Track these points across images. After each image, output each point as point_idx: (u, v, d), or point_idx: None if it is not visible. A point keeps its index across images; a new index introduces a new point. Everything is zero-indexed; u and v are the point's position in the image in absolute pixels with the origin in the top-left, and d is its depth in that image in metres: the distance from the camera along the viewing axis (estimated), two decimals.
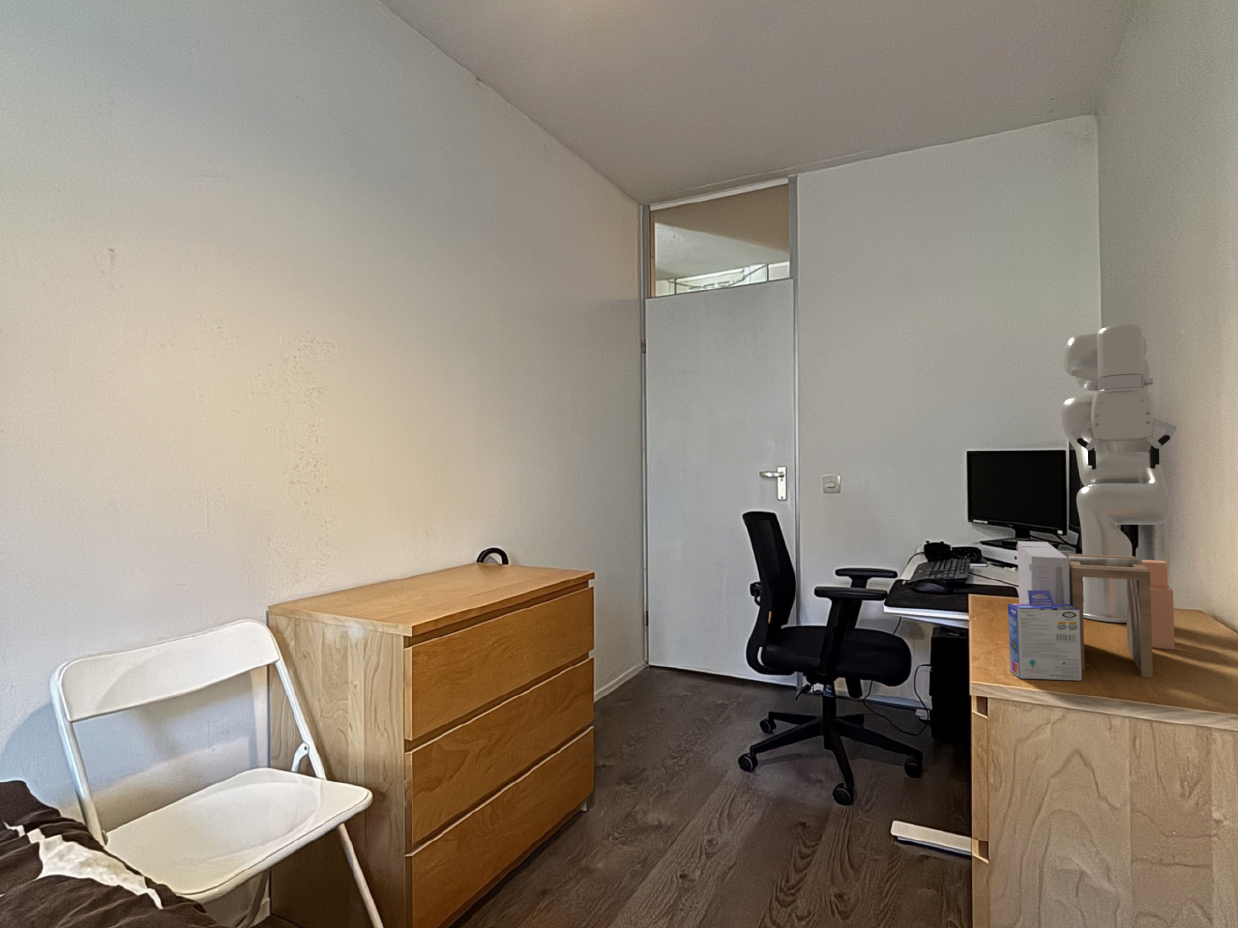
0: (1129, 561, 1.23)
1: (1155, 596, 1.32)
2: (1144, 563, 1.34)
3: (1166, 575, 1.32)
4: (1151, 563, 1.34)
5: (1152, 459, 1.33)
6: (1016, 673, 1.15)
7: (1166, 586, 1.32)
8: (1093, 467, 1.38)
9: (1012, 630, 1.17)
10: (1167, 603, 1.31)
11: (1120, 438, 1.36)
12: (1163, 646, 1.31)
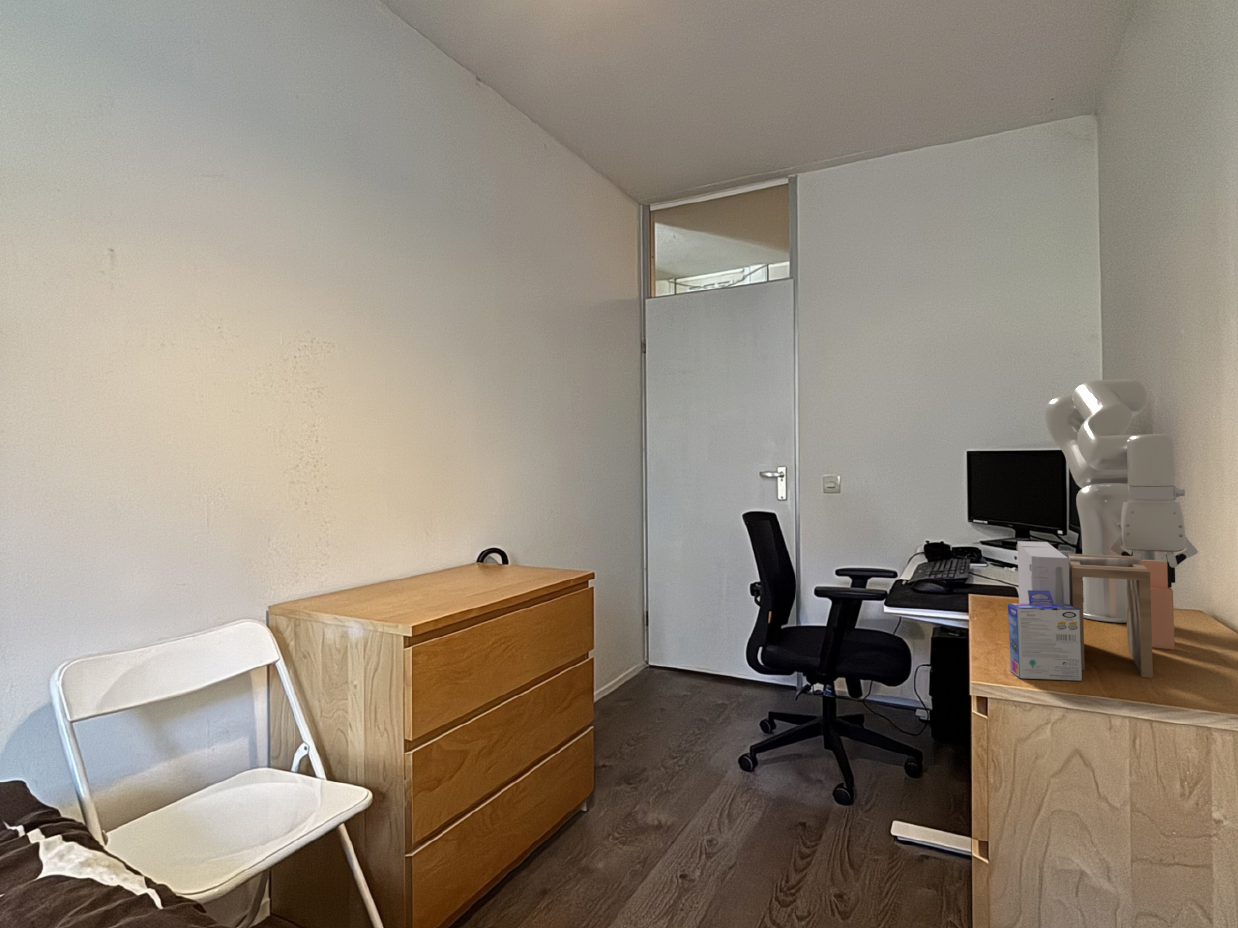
0: (1129, 561, 1.23)
1: (1155, 596, 1.32)
2: (1144, 563, 1.34)
3: (1166, 575, 1.32)
4: (1151, 563, 1.34)
5: (1168, 578, 1.33)
6: (1016, 673, 1.15)
7: (1166, 586, 1.32)
8: None
9: (1012, 630, 1.17)
10: (1167, 603, 1.31)
11: (1151, 549, 1.34)
12: (1163, 646, 1.31)
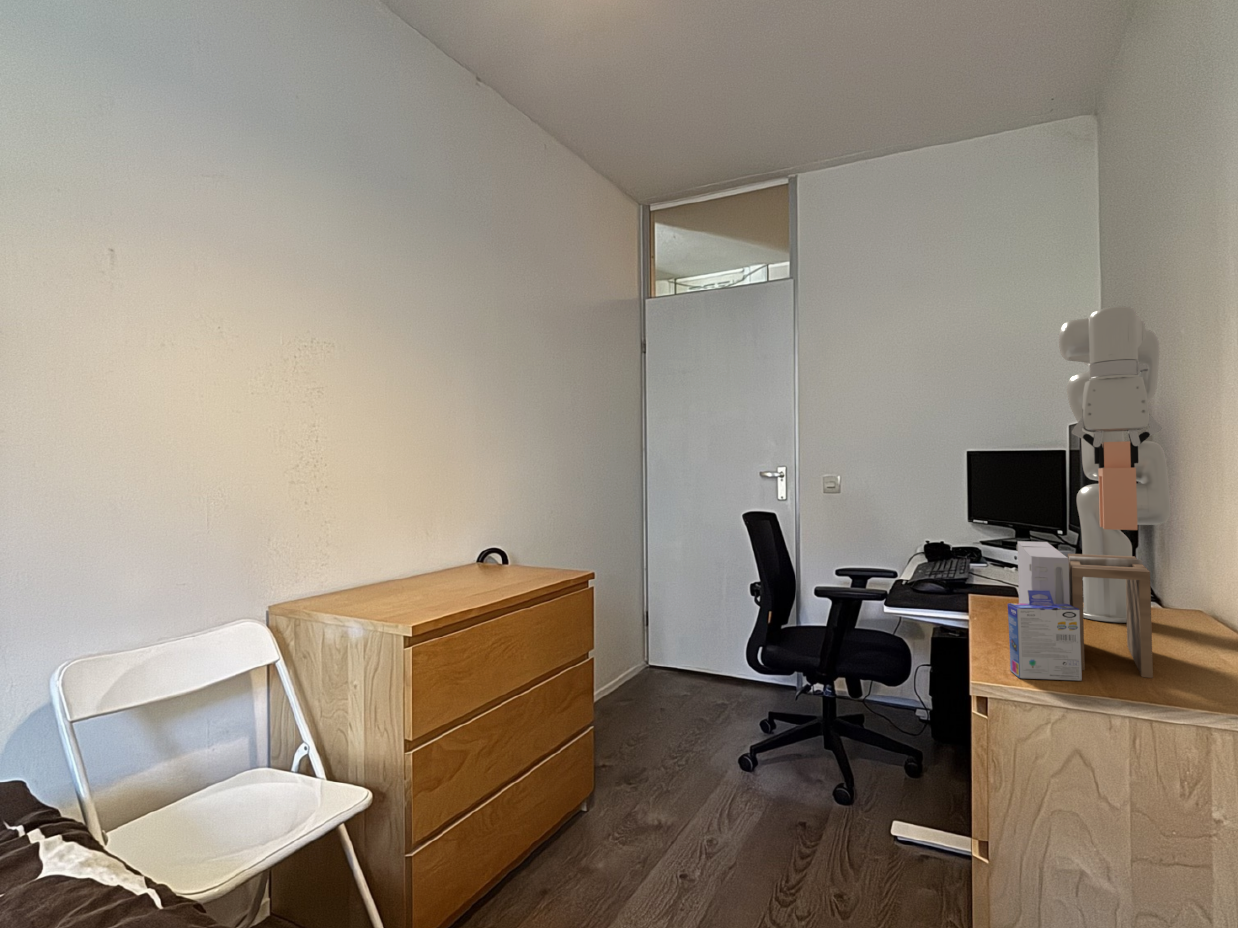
0: (1129, 561, 1.23)
1: (1117, 475, 1.24)
2: (1106, 443, 1.27)
3: (1129, 454, 1.25)
4: (1113, 442, 1.27)
5: (1131, 457, 1.26)
6: (1016, 673, 1.15)
7: (1129, 466, 1.25)
8: (1101, 465, 1.28)
9: (1012, 630, 1.17)
10: (1130, 482, 1.24)
11: (1114, 428, 1.27)
12: (1126, 527, 1.24)
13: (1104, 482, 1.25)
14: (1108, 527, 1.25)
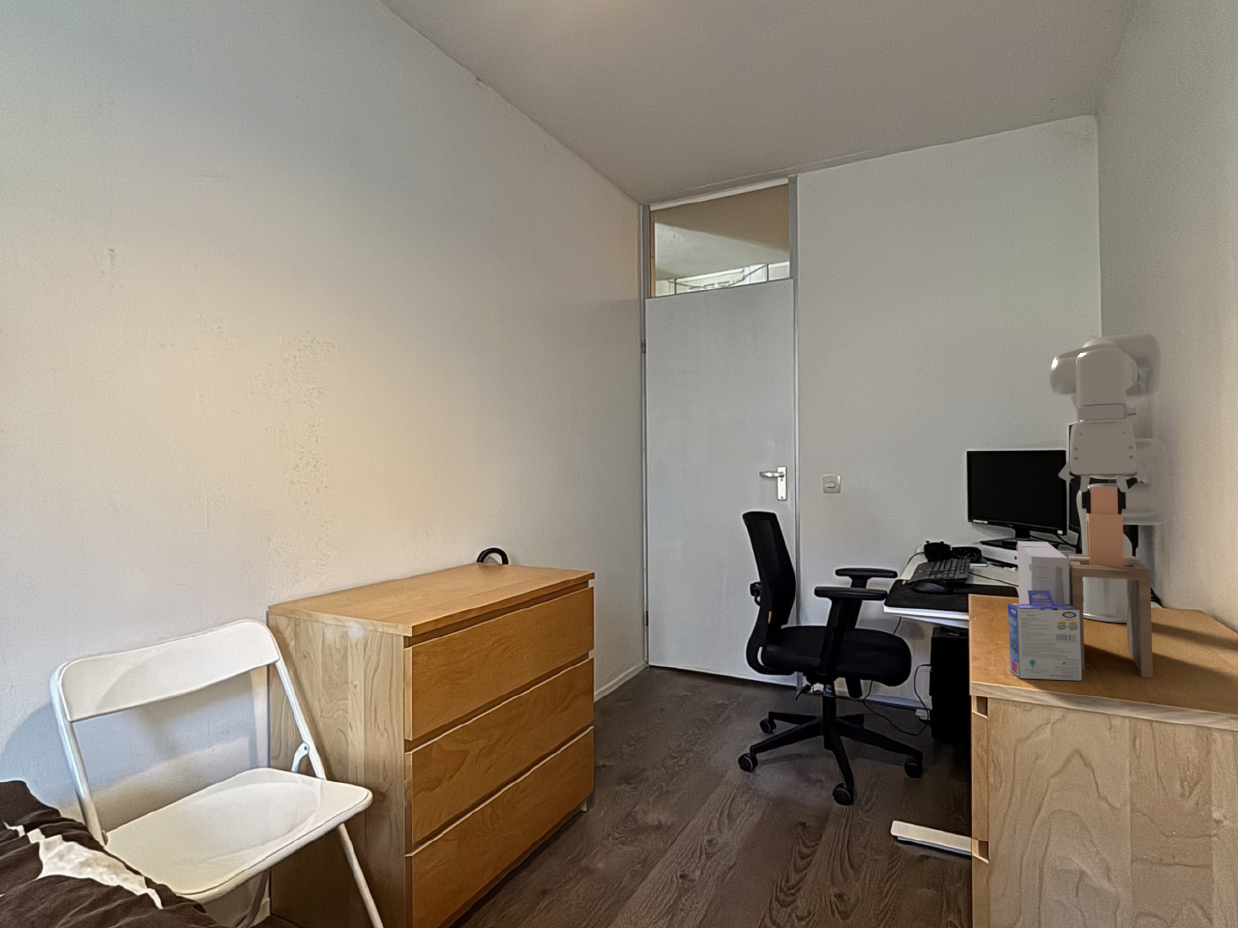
0: (1129, 561, 1.23)
1: (1104, 522, 1.22)
2: (1093, 488, 1.25)
3: (1116, 500, 1.23)
4: (1100, 488, 1.24)
5: (1118, 503, 1.23)
6: (1016, 673, 1.15)
7: (1116, 512, 1.23)
8: (1088, 511, 1.25)
9: (1012, 630, 1.17)
10: (1116, 529, 1.21)
11: (1101, 473, 1.24)
12: None
13: (1090, 529, 1.23)
14: None
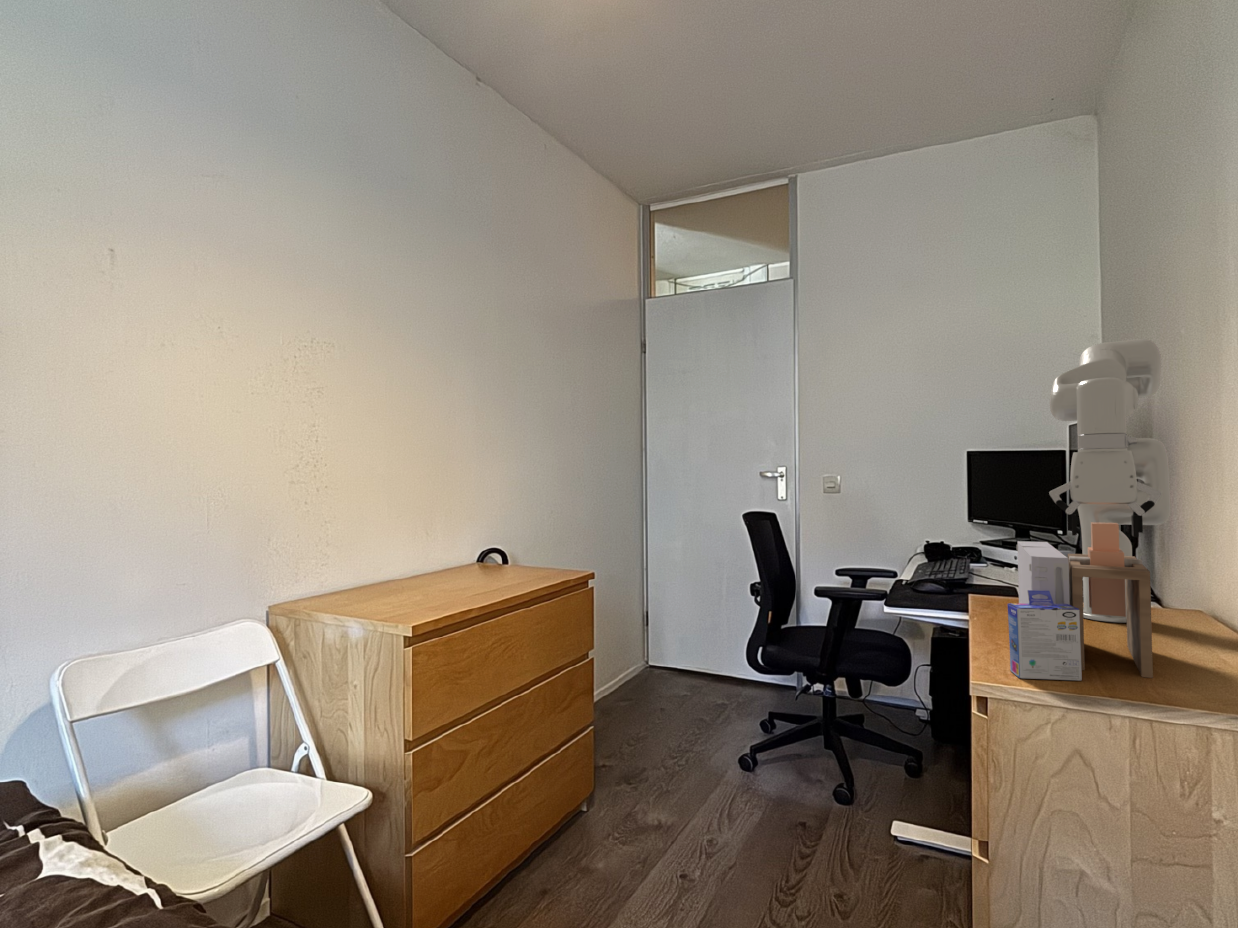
0: (1129, 561, 1.23)
1: (1105, 559, 1.22)
2: (1095, 525, 1.25)
3: (1117, 537, 1.23)
4: (1102, 525, 1.24)
5: (1135, 527, 1.22)
6: (1016, 673, 1.15)
7: (1118, 549, 1.23)
8: (1073, 533, 1.27)
9: (1012, 630, 1.17)
10: None
11: (1102, 502, 1.24)
12: (1114, 613, 1.21)
13: None
14: (1096, 612, 1.23)
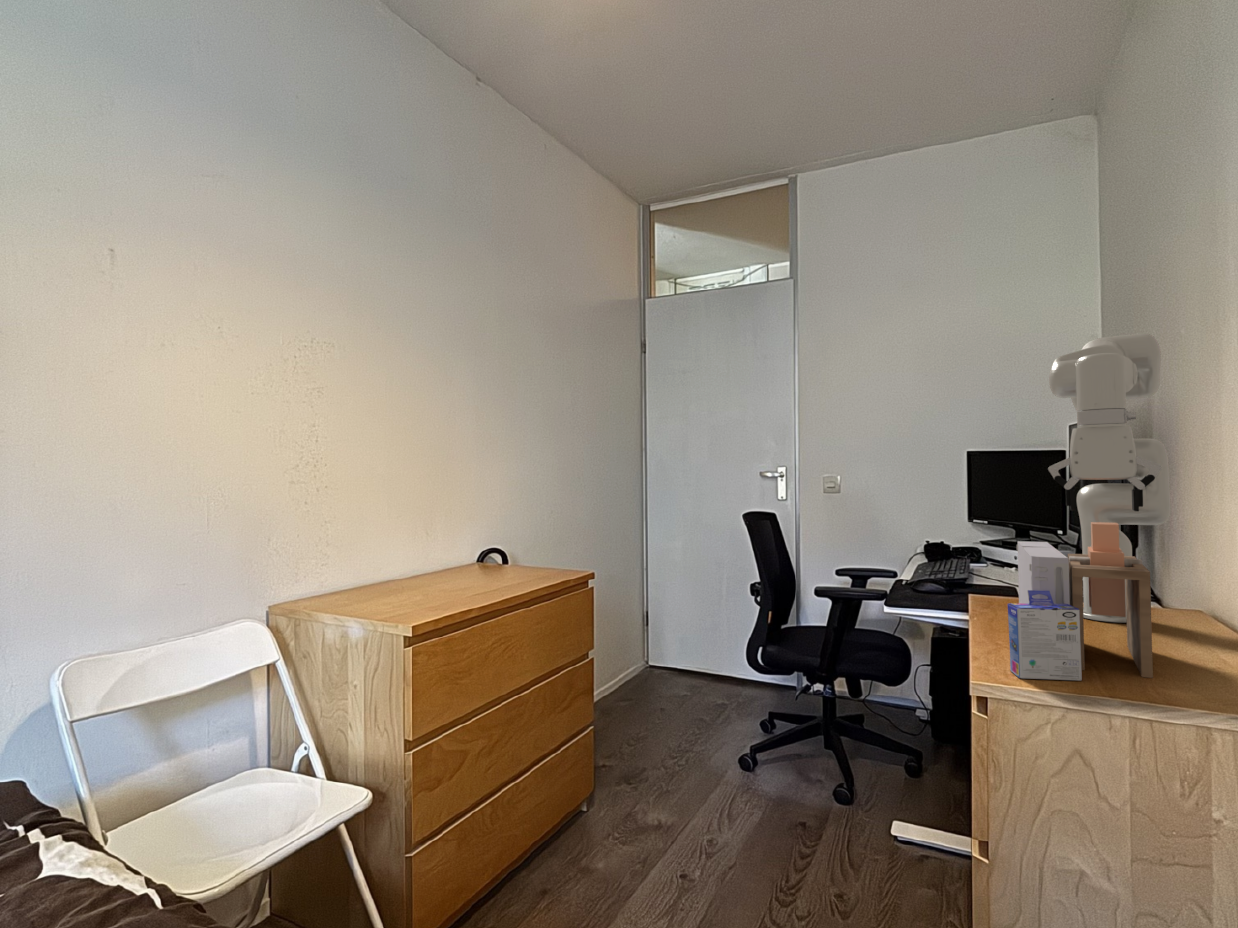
0: (1129, 561, 1.23)
1: (1105, 560, 1.22)
2: (1095, 525, 1.25)
3: (1118, 537, 1.23)
4: (1102, 525, 1.24)
5: (1135, 501, 1.22)
6: (1016, 673, 1.15)
7: (1118, 549, 1.23)
8: (1072, 508, 1.27)
9: (1012, 630, 1.17)
10: None
11: (1101, 477, 1.25)
12: (1114, 614, 1.21)
13: None
14: (1096, 612, 1.23)
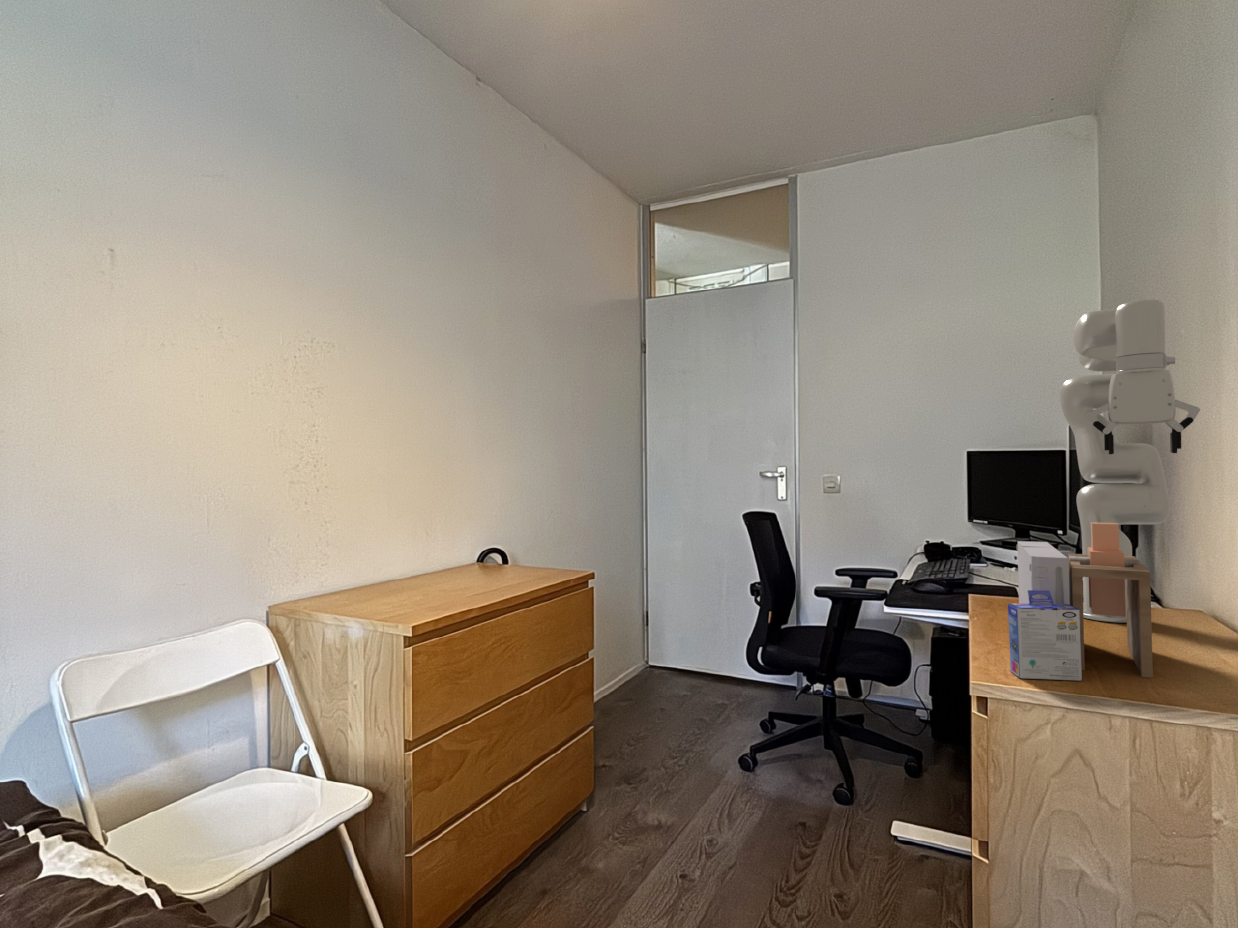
0: (1129, 561, 1.23)
1: (1105, 559, 1.22)
2: (1095, 525, 1.25)
3: (1118, 537, 1.23)
4: (1102, 525, 1.24)
5: (1174, 443, 1.26)
6: (1016, 673, 1.15)
7: (1118, 549, 1.23)
8: (1110, 452, 1.31)
9: (1012, 630, 1.17)
10: None
11: (1139, 421, 1.28)
12: (1114, 613, 1.21)
13: None
14: (1096, 612, 1.23)
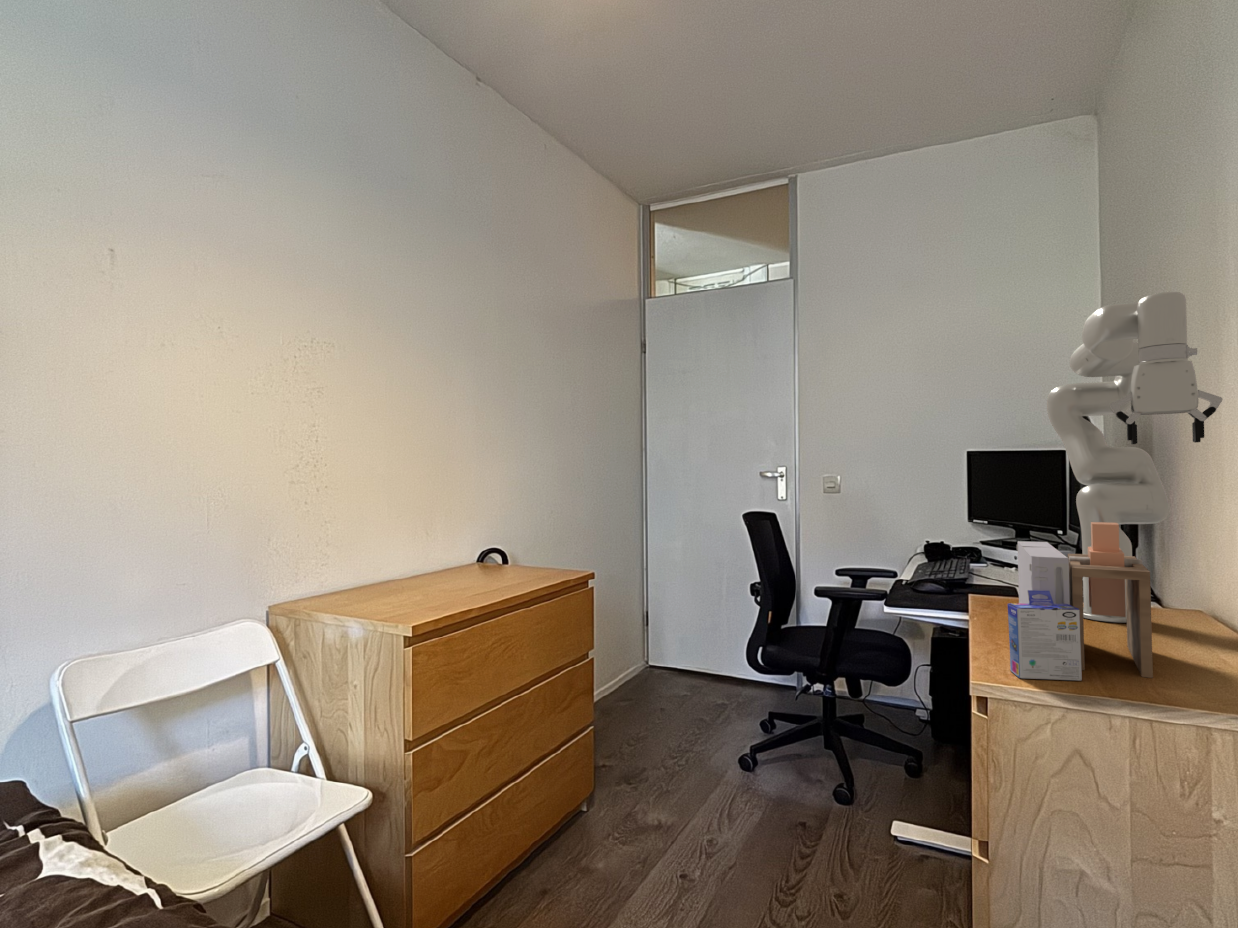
0: (1129, 561, 1.23)
1: (1105, 560, 1.22)
2: (1095, 525, 1.25)
3: (1118, 537, 1.23)
4: (1102, 525, 1.24)
5: (1197, 432, 1.28)
6: (1016, 673, 1.15)
7: (1118, 549, 1.23)
8: (1134, 441, 1.33)
9: (1012, 630, 1.17)
10: None
11: (1163, 411, 1.30)
12: (1114, 614, 1.21)
13: None
14: (1096, 612, 1.23)
